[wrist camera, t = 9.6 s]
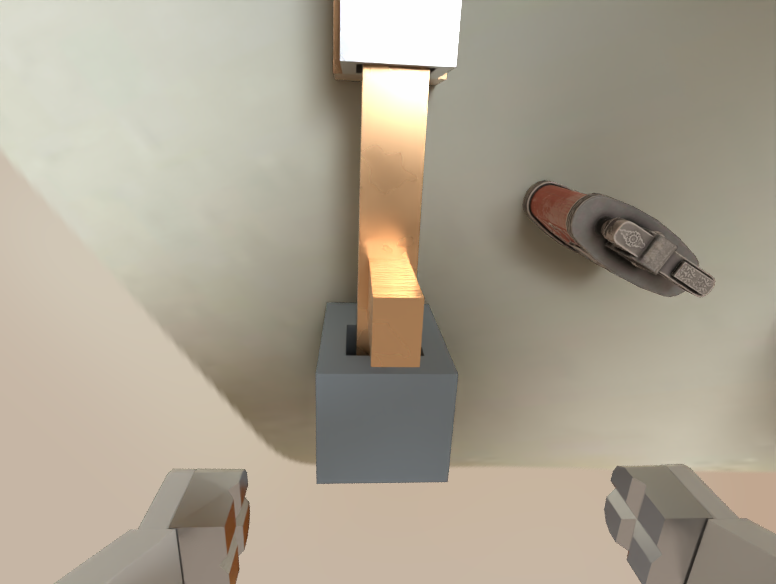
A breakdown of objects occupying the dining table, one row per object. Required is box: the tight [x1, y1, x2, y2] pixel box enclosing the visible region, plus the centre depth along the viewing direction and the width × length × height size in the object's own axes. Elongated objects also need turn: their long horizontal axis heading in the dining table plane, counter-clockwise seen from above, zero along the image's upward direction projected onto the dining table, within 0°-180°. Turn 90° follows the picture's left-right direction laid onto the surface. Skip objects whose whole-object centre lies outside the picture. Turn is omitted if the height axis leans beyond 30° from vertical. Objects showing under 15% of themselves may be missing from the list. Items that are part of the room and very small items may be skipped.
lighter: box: [523, 180, 715, 297], centre depth 27 cm, size 8×3×10 cm, turn 59°
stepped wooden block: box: [356, 64, 430, 367], centre depth 22 cm, size 20×3×9 cm, turn 178°
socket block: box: [316, 302, 458, 484], centre depth 29 cm, size 6×7×10 cm
